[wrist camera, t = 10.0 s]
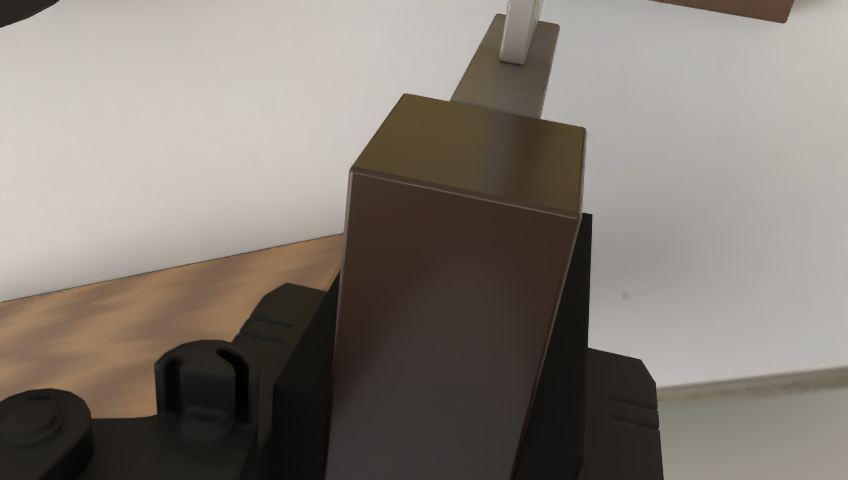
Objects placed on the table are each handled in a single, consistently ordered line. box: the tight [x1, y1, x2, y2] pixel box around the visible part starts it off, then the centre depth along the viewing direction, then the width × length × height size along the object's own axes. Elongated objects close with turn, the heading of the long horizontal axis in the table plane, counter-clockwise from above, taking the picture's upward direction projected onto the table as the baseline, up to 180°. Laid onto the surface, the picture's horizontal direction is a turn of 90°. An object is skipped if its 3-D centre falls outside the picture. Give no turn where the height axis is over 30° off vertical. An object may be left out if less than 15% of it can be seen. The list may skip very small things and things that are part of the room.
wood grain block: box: [0, 234, 344, 418], centre depth 32 cm, size 24×6×14 cm, turn 108°
